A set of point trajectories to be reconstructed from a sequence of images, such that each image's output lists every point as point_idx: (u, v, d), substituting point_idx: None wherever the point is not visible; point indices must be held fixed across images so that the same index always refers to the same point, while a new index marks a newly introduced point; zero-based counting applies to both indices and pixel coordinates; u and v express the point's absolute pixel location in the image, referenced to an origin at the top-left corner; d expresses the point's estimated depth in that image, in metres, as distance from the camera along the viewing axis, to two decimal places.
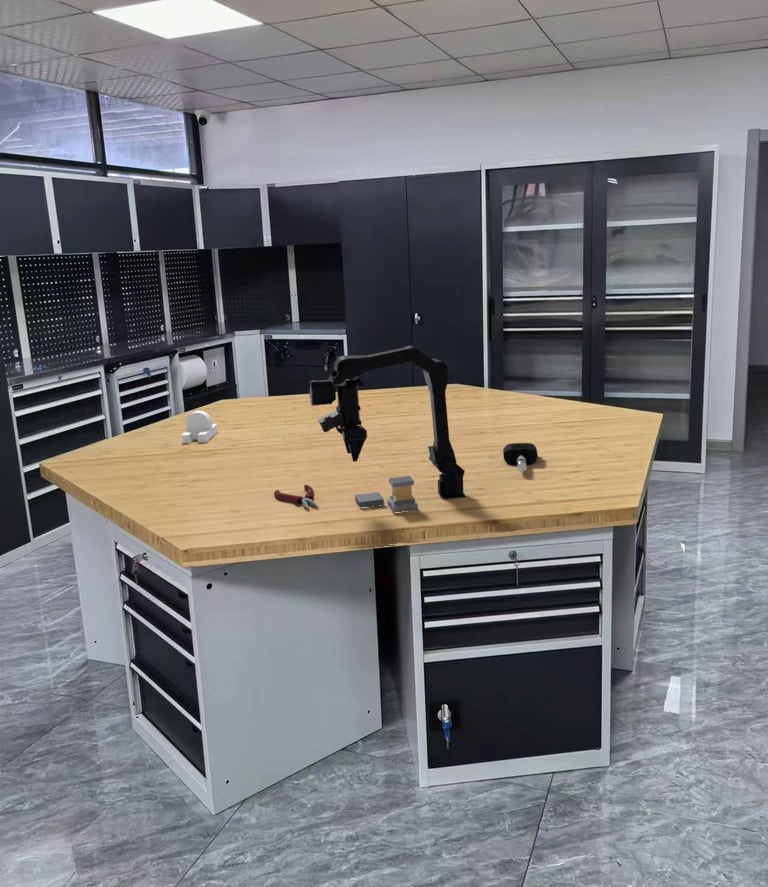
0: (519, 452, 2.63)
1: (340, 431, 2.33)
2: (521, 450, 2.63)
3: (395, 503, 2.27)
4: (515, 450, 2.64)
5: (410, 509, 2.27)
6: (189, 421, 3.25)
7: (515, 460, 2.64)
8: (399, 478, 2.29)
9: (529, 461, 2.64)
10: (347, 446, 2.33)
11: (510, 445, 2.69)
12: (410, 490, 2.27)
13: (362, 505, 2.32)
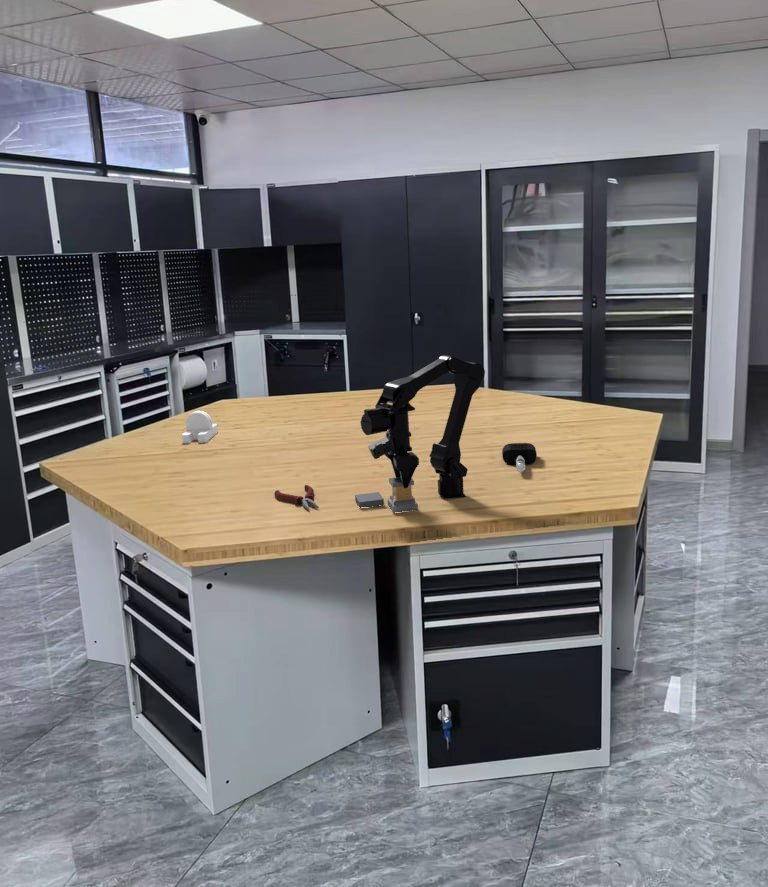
0: (518, 452, 2.63)
1: (389, 457, 2.31)
2: (520, 450, 2.63)
3: (395, 503, 2.27)
4: (514, 450, 2.64)
5: (410, 509, 2.27)
6: (189, 421, 3.25)
7: (514, 460, 2.64)
8: (399, 478, 2.29)
9: (528, 461, 2.64)
10: (395, 472, 2.32)
11: (509, 445, 2.69)
12: (410, 490, 2.27)
13: (362, 505, 2.32)
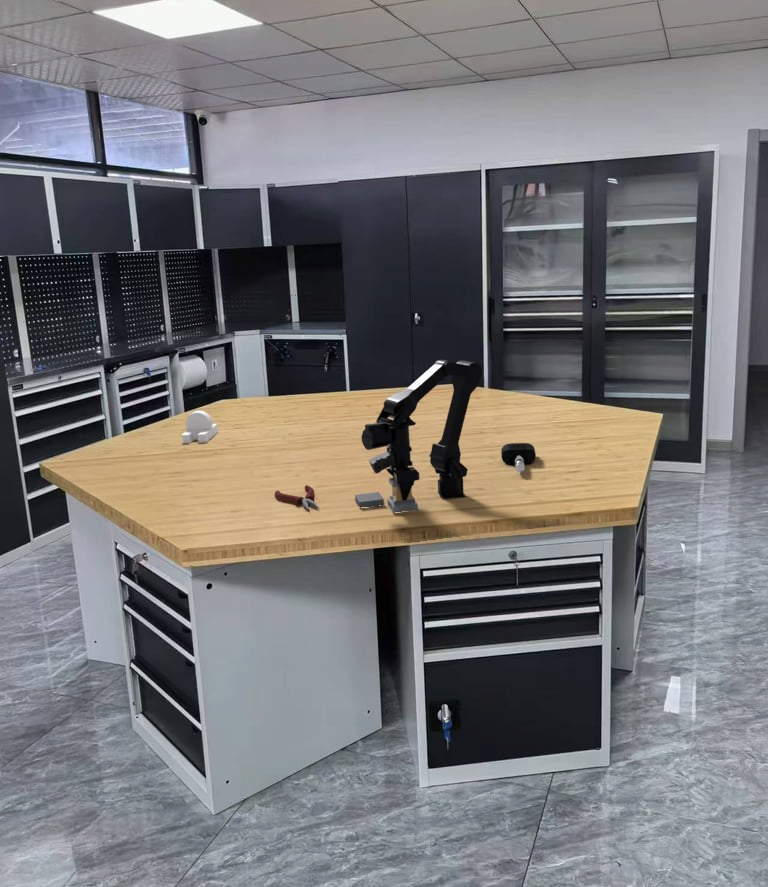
0: (517, 452, 2.63)
1: (391, 472, 2.30)
2: (519, 450, 2.63)
3: (395, 503, 2.27)
4: (513, 450, 2.64)
5: (410, 509, 2.27)
6: (189, 421, 3.25)
7: (513, 460, 2.64)
8: None
9: (527, 461, 2.64)
10: None
11: (508, 445, 2.69)
12: (410, 490, 2.27)
13: (362, 505, 2.32)
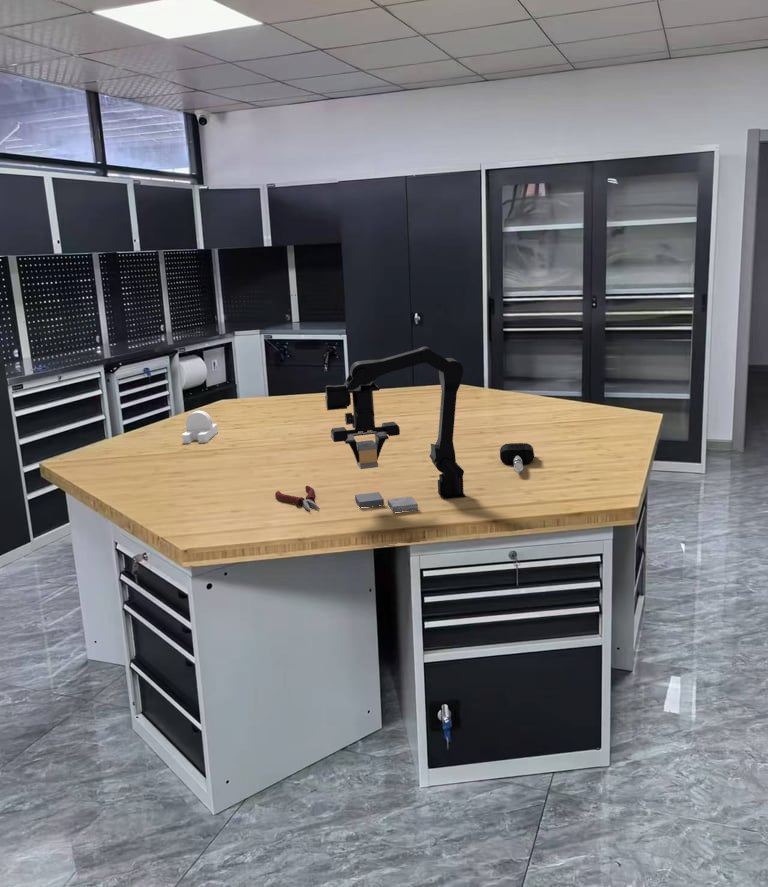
0: (516, 452, 2.64)
1: (375, 436, 2.33)
2: (518, 450, 2.64)
3: None
4: (512, 450, 2.64)
5: (410, 509, 2.27)
6: (189, 421, 3.25)
7: (512, 460, 2.64)
8: (369, 443, 2.32)
9: (525, 461, 2.64)
10: None
11: (507, 445, 2.69)
12: (359, 455, 2.30)
13: (362, 505, 2.32)
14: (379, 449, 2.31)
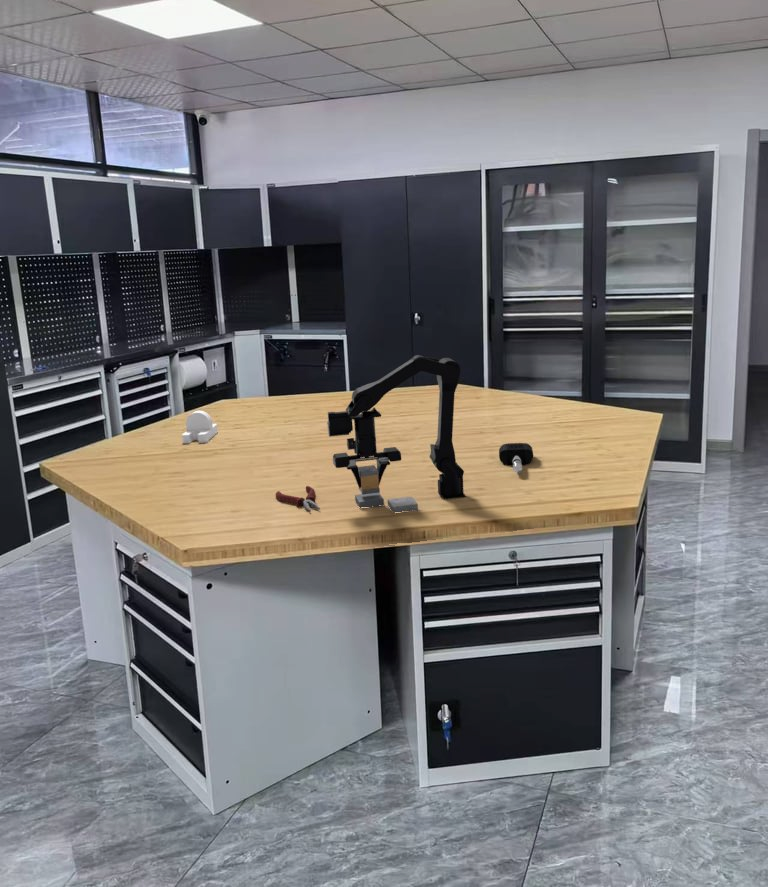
0: (515, 452, 2.64)
1: None
2: (517, 450, 2.64)
3: None
4: (511, 450, 2.64)
5: (410, 509, 2.27)
6: (189, 421, 3.25)
7: (511, 460, 2.64)
8: (371, 468, 2.33)
9: (524, 461, 2.64)
10: None
11: (506, 445, 2.69)
12: (360, 480, 2.32)
13: (362, 505, 2.32)
14: (381, 474, 2.32)
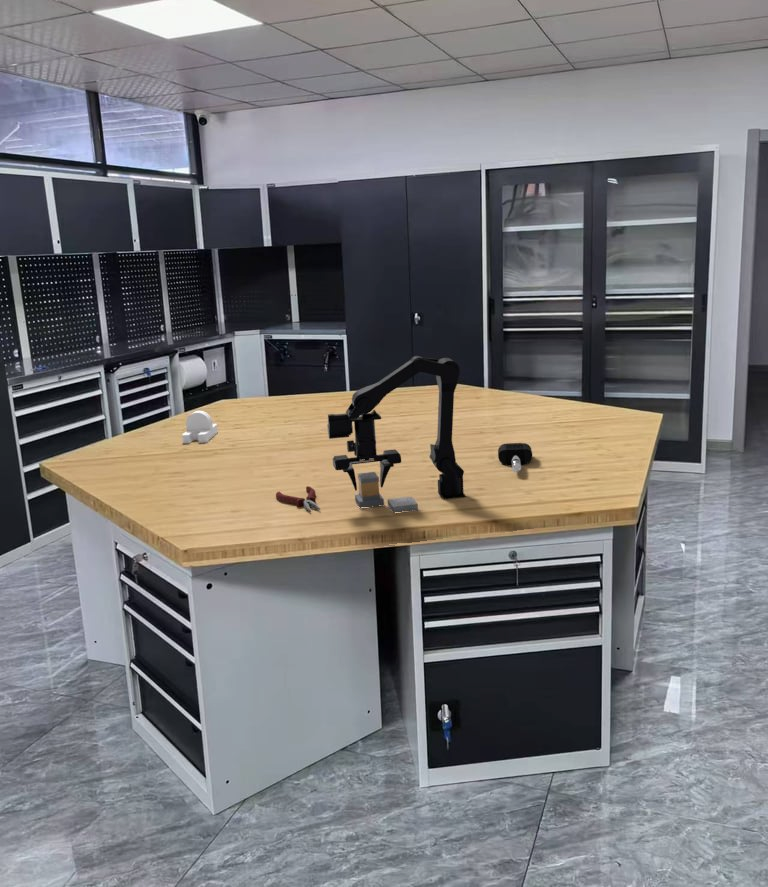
0: (514, 452, 2.64)
1: (380, 463, 2.36)
2: (516, 450, 2.64)
3: (359, 493, 2.37)
4: (510, 450, 2.64)
5: (410, 509, 2.27)
6: (189, 421, 3.25)
7: (510, 460, 2.64)
8: (371, 474, 2.34)
9: (524, 461, 2.64)
10: (380, 479, 2.35)
11: (505, 445, 2.70)
12: (361, 487, 2.32)
13: (362, 505, 2.32)
14: (384, 476, 2.33)
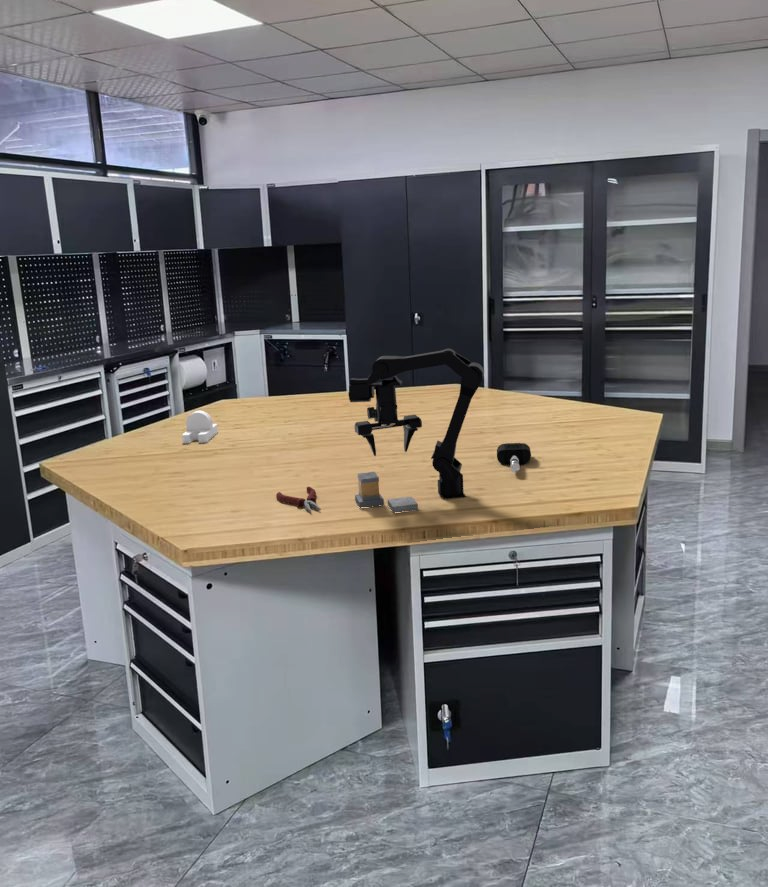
0: (512, 452, 2.64)
1: (403, 428, 2.40)
2: (514, 450, 2.64)
3: (359, 493, 2.37)
4: (508, 450, 2.64)
5: (410, 509, 2.27)
6: (190, 421, 3.25)
7: (508, 460, 2.64)
8: (371, 474, 2.34)
9: (522, 461, 2.64)
10: (404, 444, 2.40)
11: (503, 445, 2.70)
12: (361, 487, 2.32)
13: (362, 505, 2.32)
14: (408, 440, 2.37)
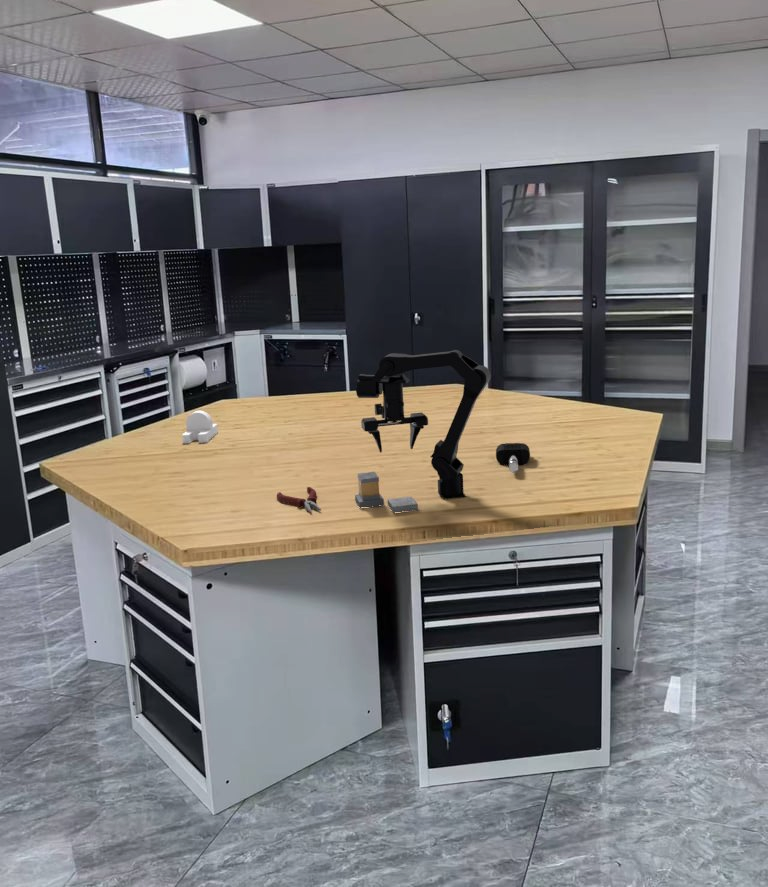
0: (511, 452, 2.64)
1: (410, 425, 2.42)
2: (513, 450, 2.64)
3: (359, 493, 2.37)
4: (507, 450, 2.64)
5: (410, 509, 2.27)
6: (190, 421, 3.25)
7: (507, 460, 2.65)
8: (371, 474, 2.34)
9: (521, 461, 2.64)
10: (410, 441, 2.41)
11: (503, 445, 2.70)
12: (361, 487, 2.32)
13: (362, 505, 2.32)
14: (414, 438, 2.39)
